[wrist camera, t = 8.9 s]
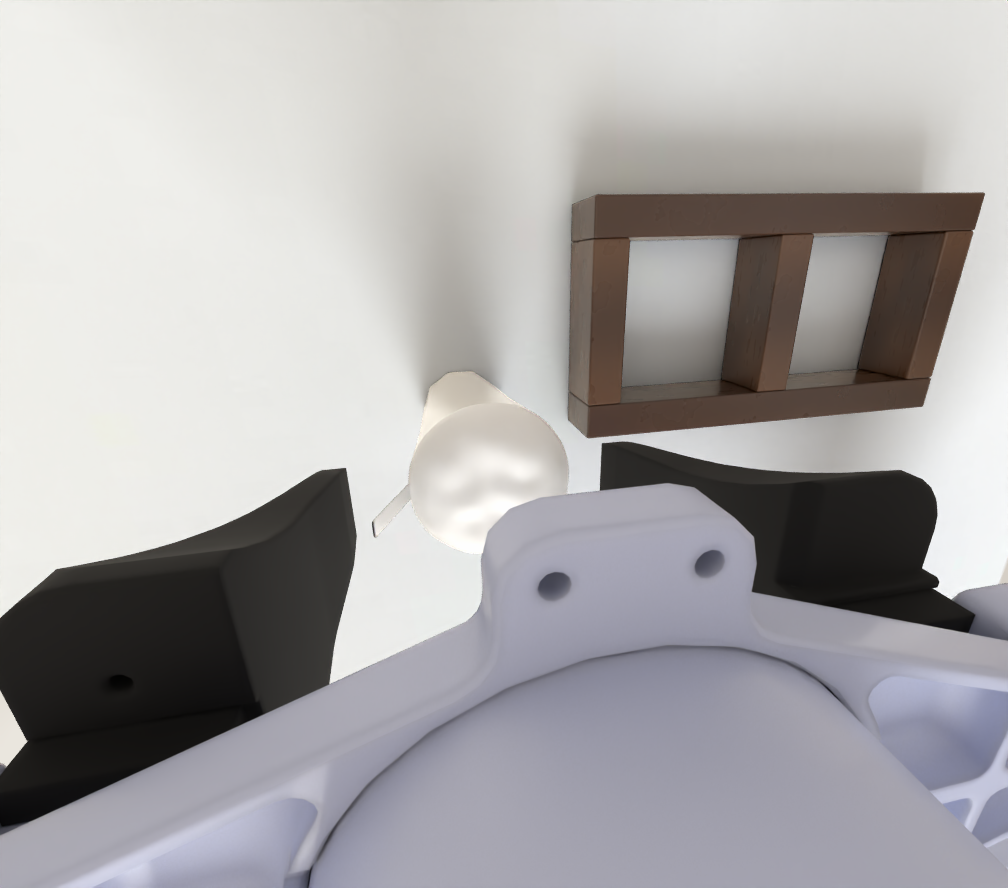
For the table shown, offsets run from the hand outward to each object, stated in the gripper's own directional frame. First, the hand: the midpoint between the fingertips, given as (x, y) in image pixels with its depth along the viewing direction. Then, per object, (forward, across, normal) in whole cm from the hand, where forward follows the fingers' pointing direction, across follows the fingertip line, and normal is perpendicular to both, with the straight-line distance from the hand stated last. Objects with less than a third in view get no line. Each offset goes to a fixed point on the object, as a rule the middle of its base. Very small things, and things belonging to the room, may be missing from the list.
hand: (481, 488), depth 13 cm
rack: (+8, -13, -4) cm, 16 cm away
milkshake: (+8, 0, 0) cm, 8 cm away
